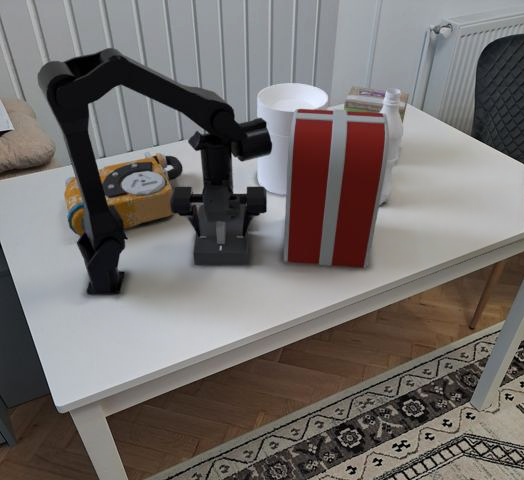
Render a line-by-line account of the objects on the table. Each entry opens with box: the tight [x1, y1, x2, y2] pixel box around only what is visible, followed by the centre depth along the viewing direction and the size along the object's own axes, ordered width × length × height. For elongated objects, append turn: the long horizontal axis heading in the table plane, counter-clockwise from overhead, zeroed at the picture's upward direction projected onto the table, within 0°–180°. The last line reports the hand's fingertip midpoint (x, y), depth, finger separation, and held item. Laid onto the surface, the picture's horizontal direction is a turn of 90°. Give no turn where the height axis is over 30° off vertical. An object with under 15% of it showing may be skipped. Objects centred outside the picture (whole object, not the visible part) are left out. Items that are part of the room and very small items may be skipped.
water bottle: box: [379, 87, 404, 206], centre depth 116 cm, size 7×7×25 cm
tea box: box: [343, 86, 410, 124], centre depth 136 cm, size 15×10×15 cm
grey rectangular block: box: [216, 221, 226, 244], centre depth 108 cm, size 5×2×4 cm, turn 1°
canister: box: [256, 82, 329, 196], centre depth 125 cm, size 16×16×20 cm
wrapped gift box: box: [283, 108, 389, 269], centre depth 104 cm, size 16×18×27 cm
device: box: [63, 151, 184, 237], centre depth 121 cm, size 23×8×30 cm
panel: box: [192, 223, 249, 266], centre depth 111 cm, size 11×11×3 cm
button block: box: [198, 204, 250, 232], centre depth 118 cm, size 10×11×4 cm
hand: (221, 235), depth 109 cm, fingers open, 9 cm apart
